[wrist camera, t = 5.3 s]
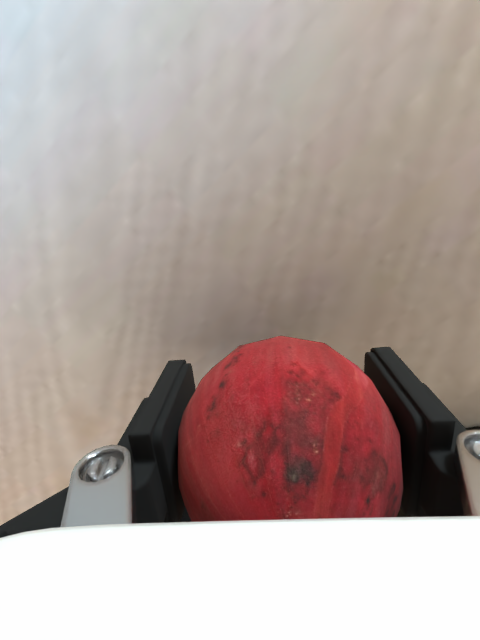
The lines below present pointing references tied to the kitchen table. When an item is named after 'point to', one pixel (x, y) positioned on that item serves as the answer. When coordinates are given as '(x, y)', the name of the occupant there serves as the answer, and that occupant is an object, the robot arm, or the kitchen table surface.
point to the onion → (288, 438)
